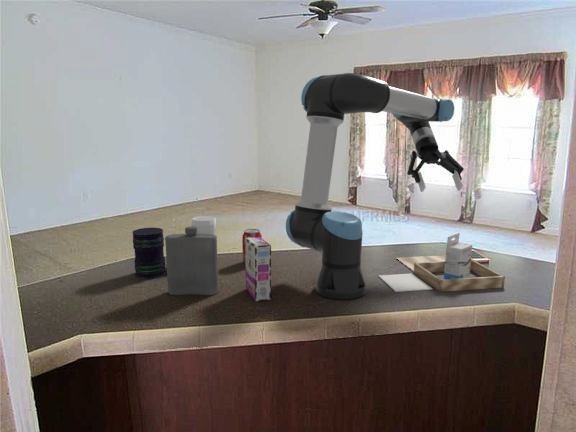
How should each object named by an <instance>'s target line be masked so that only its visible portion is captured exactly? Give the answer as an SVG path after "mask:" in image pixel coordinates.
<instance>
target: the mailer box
mask: <svg viewBox="0 0 576 432" xmlns="http://www.w3.org/2000/svg"><path fill="white" fill-rule="evenodd" d="M445 258H446V254H444V255H443V254H442V255H421V256H406V257H405V256H403V257H401V256H400V257H395V259H396V260H397V259H398V260H399V261H398V260H397V261H398V262H400V261H401V262H402V263H403V264H402V263H401V262H400V263H401V264H402V265H404V266H405V265H406V266H407V267H406V266H405V267H406V268H408V269H409V268H410V269H411V271H412V272H413V274H414V275H415V276H417V277H418V278H419V279H421V280H422V281H423V282H425V283H426V284H427V285H429V286H430V287H431V288H432V287H433V289H435V290H436V291H437V292H440V293H441V292H457V291H471V290H483V289H484V290H485V289H486V290H487V289H499V288H501V289H502V288H504V287H505V280H506V276H505V275H503V274H501V273H499V272H497V271H495V270H493V269H491V268H489V267H487V266H486V265H483V264H482V263H481V262H480V263H479V262H477V261H476V260H474V259H471V263H470V272H473V273H475V274H477V275H478V277H469V278H460V279H444V278H443V279H441V278H439V277H438V276H436V275H435V274H433V273H444V270H445ZM410 269H409V270H410Z"/></svg>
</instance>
